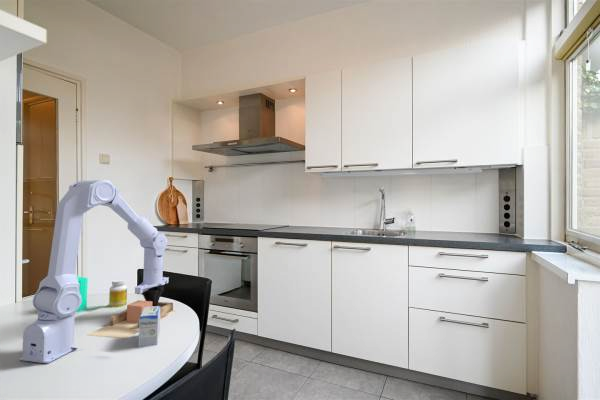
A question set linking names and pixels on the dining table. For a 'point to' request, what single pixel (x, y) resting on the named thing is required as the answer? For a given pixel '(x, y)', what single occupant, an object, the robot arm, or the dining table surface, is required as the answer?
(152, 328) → the medicine box
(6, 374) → the dining table surface
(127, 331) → the tray
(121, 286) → the supplement bottle
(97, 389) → the dining table surface
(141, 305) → the block
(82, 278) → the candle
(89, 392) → the dining table surface
